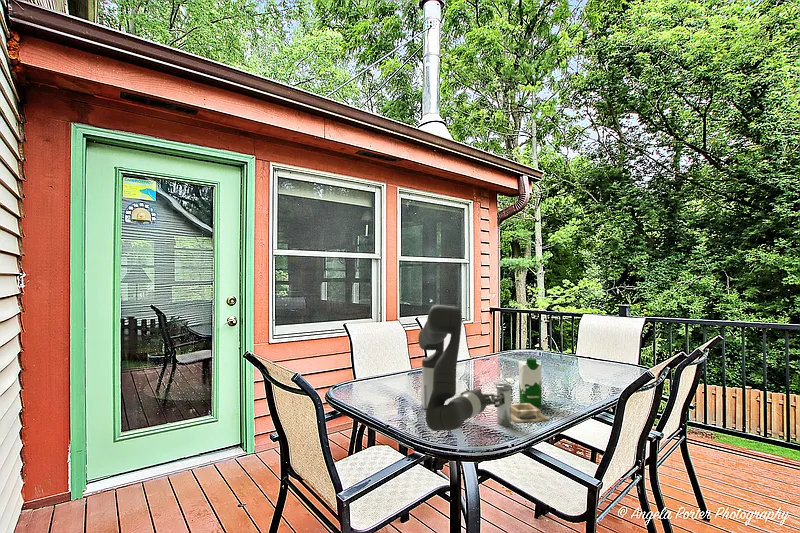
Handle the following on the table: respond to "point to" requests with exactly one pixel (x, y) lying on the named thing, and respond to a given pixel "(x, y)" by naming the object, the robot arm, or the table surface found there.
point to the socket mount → (526, 413)
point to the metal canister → (504, 405)
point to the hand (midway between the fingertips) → (491, 393)
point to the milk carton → (530, 382)
